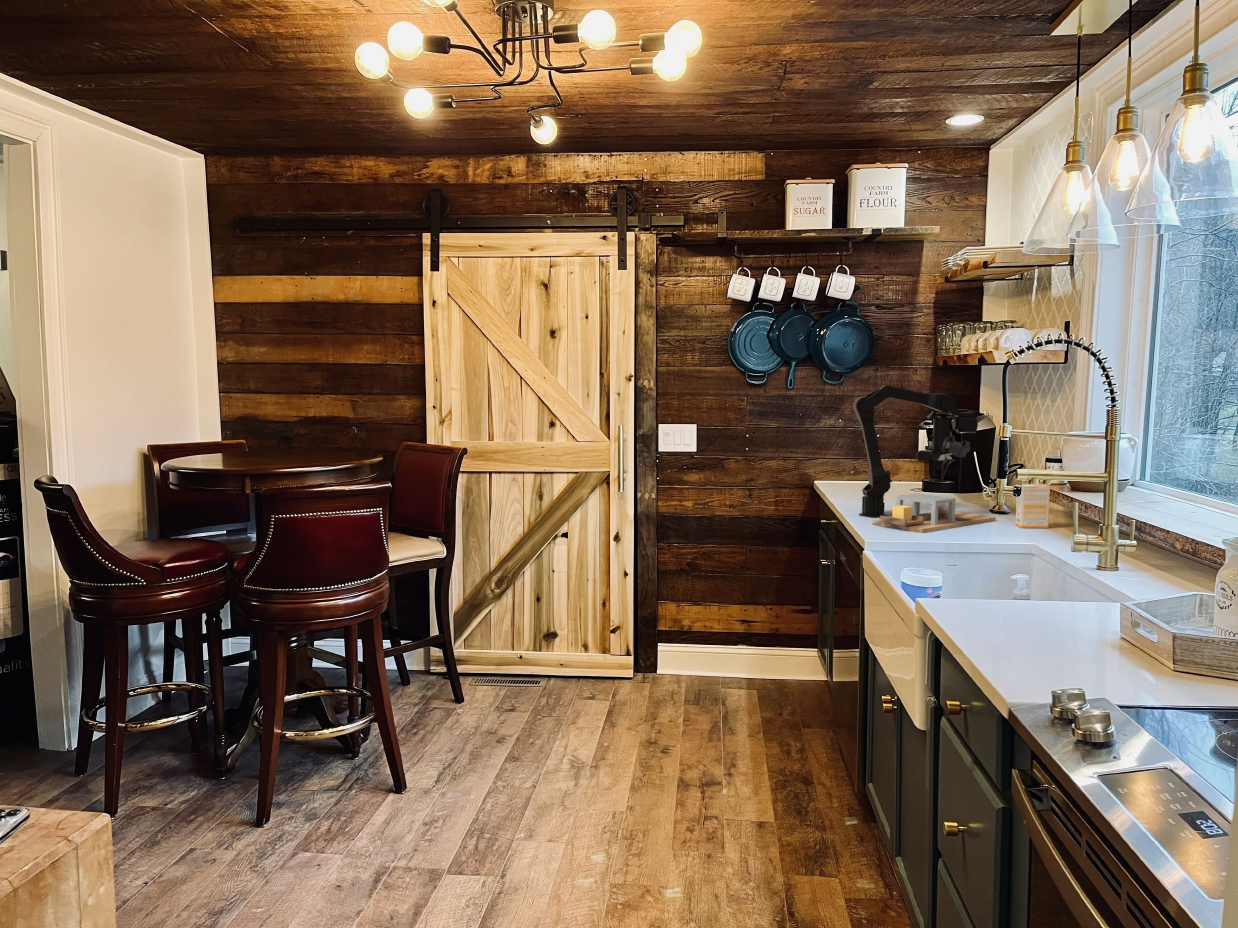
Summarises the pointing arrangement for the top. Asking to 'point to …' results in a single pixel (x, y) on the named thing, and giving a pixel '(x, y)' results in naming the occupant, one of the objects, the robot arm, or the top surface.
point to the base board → (940, 522)
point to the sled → (916, 517)
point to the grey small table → (934, 507)
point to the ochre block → (902, 512)
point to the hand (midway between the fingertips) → (940, 480)
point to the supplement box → (1033, 506)
